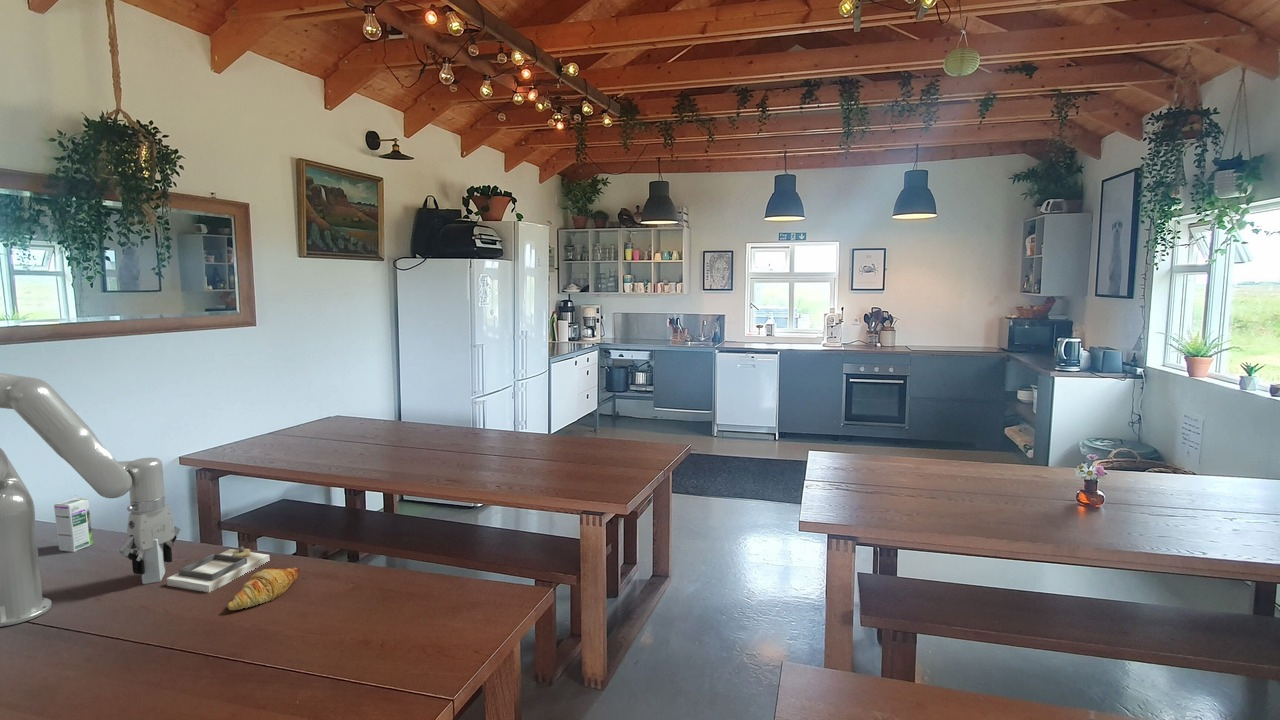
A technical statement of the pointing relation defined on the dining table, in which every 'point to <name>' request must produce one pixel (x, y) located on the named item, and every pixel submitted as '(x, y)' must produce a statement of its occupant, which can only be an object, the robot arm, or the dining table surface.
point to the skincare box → (153, 564)
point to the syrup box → (73, 524)
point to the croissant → (264, 587)
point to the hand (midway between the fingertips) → (153, 566)
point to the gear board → (217, 570)
